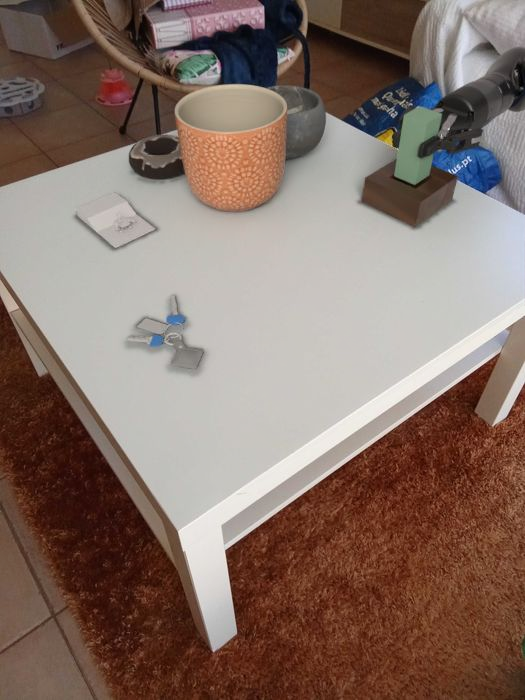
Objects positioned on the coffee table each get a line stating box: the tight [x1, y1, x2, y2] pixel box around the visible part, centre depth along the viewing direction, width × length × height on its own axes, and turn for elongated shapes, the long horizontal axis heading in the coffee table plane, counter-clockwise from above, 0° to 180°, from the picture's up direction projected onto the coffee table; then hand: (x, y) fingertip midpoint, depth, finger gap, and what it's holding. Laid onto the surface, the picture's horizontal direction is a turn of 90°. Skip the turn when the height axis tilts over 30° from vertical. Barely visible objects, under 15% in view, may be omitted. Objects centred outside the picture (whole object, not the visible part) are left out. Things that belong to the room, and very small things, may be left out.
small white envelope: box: [75, 191, 156, 249], centre depth 90 cm, size 7×12×2 cm, turn 41°
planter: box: [174, 83, 287, 213], centre depth 90 cm, size 17×17×15 cm
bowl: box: [265, 84, 327, 160], centre depth 102 cm, size 15×15×10 cm
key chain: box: [126, 294, 204, 370], centre depth 72 cm, size 14×8×1 cm, turn 24°
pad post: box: [394, 105, 442, 185], centre depth 87 cm, size 4×4×10 cm
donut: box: [128, 134, 185, 180], centre depth 102 cm, size 12×12×4 cm
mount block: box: [361, 157, 459, 228], centre depth 92 cm, size 11×11×4 cm
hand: (407, 146), depth 85 cm, fingers closed on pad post, 4 cm apart
